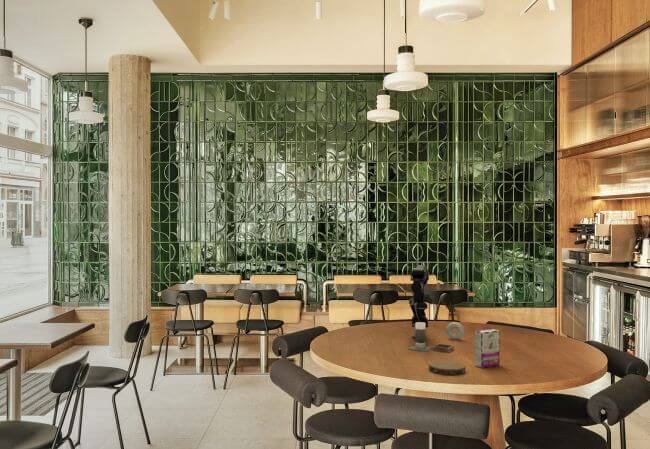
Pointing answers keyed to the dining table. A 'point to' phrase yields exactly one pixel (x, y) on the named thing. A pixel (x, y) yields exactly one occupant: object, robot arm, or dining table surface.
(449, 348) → the walnut collar
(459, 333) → the donut
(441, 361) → the brown round disc
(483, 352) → the candy bar box
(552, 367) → the dining table surface
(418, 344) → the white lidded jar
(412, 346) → the charcoal mat
